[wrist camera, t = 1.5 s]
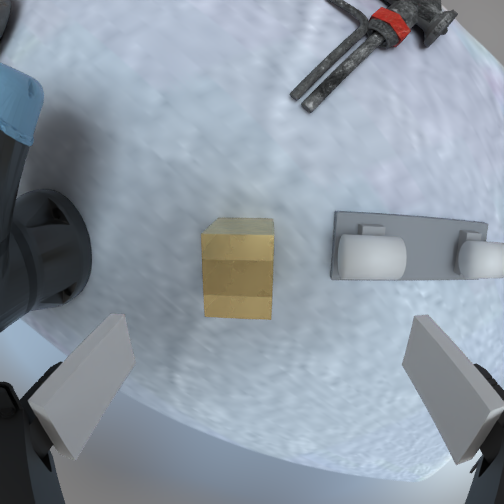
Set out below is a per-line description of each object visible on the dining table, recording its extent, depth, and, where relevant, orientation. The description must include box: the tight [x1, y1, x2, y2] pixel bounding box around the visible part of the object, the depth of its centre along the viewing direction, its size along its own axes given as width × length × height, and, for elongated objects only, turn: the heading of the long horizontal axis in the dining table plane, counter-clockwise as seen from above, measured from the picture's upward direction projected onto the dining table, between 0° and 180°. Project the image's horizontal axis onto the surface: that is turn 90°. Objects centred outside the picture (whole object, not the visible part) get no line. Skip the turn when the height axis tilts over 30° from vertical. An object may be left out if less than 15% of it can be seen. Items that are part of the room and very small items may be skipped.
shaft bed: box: [330, 211, 504, 280], centre depth 27 cm, size 20×7×6 cm, turn 89°
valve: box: [290, 0, 458, 113], centre depth 22 cm, size 6×26×15 cm
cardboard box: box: [201, 218, 274, 320], centre depth 27 cm, size 7×6×8 cm
